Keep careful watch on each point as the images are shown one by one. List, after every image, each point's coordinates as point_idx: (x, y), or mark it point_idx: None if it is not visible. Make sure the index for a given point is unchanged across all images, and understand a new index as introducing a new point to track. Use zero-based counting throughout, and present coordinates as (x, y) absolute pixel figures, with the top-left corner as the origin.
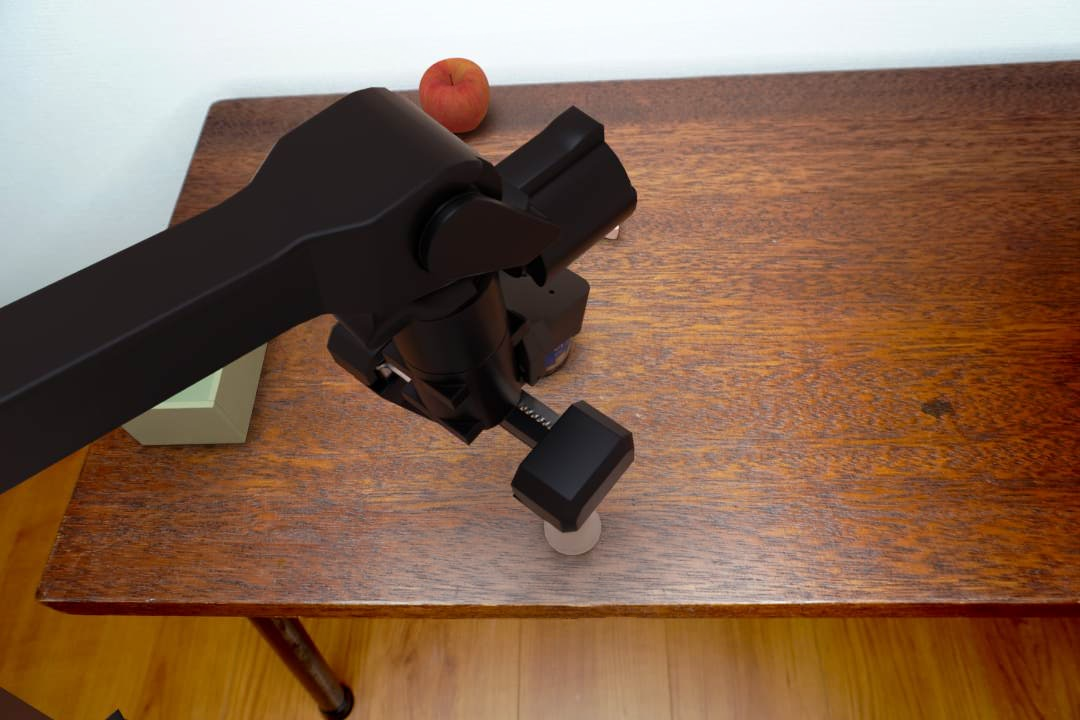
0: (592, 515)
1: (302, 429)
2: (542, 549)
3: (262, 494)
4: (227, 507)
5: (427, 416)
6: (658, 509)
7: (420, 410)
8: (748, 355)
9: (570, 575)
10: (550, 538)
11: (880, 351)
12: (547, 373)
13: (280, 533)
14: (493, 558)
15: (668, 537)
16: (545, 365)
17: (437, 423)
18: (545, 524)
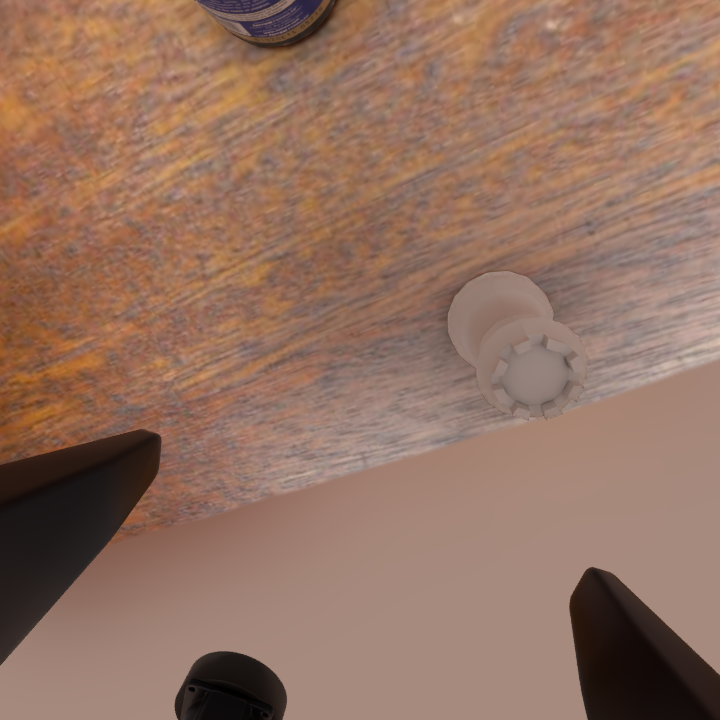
0: (544, 314)
1: (23, 323)
2: (458, 366)
3: (53, 428)
4: None
5: (83, 568)
6: (643, 223)
7: (26, 620)
8: None
9: None
10: (475, 367)
11: None
12: (324, 17)
13: None
14: (391, 403)
15: (673, 268)
16: (314, 2)
17: (146, 489)
18: (458, 349)
